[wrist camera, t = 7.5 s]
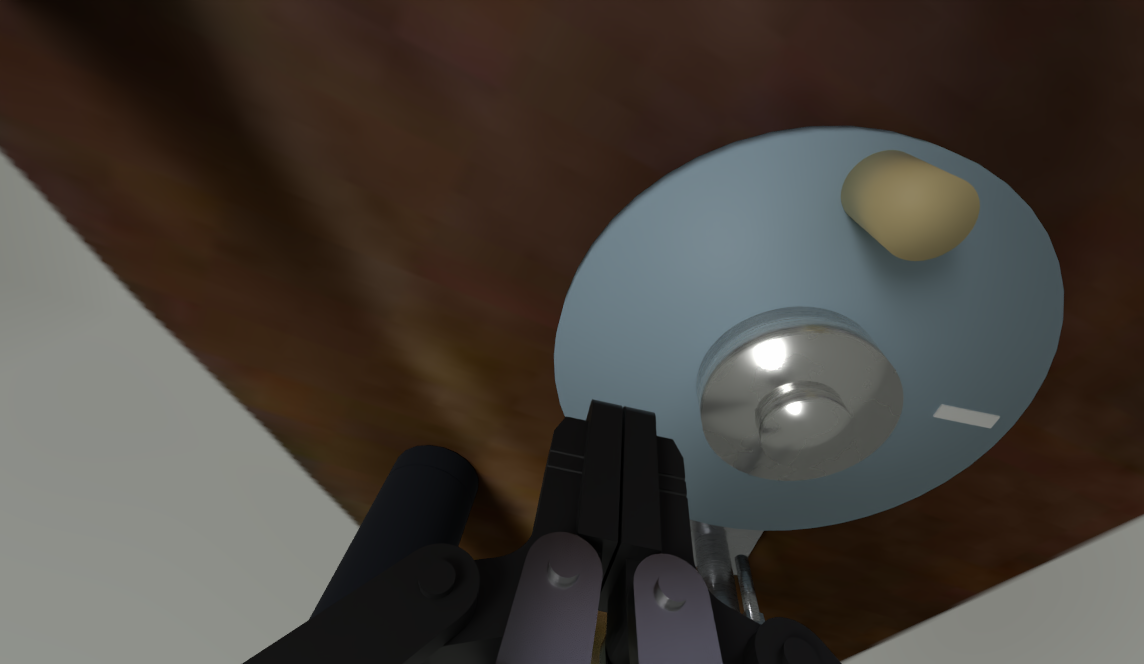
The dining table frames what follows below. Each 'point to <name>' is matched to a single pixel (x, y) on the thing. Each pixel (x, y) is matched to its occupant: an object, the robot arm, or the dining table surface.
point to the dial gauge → (726, 564)
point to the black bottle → (407, 517)
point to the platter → (820, 305)
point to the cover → (797, 394)
